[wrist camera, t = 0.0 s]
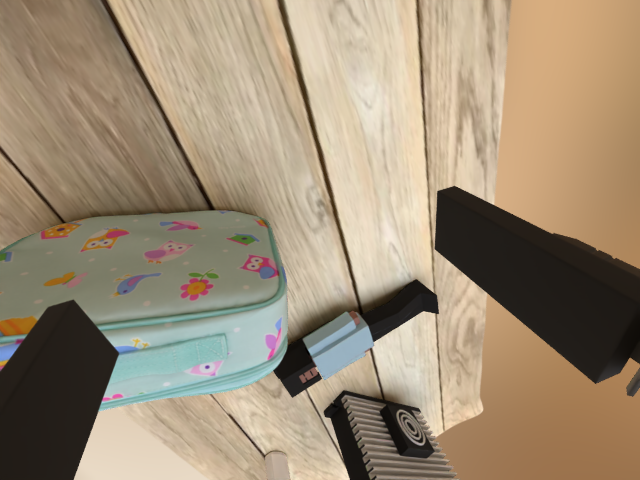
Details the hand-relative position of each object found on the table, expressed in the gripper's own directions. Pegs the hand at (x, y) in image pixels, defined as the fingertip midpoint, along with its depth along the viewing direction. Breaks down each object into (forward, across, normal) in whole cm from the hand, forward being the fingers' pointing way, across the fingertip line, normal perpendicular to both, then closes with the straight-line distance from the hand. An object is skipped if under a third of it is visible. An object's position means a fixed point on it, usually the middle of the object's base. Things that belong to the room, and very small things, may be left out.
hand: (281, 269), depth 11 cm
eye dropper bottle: (+28, -14, -72) cm, 78 cm away
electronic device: (+28, +13, -69) cm, 75 cm away
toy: (+28, +9, -36) cm, 46 cm away
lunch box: (+28, -13, -11) cm, 33 cm away
